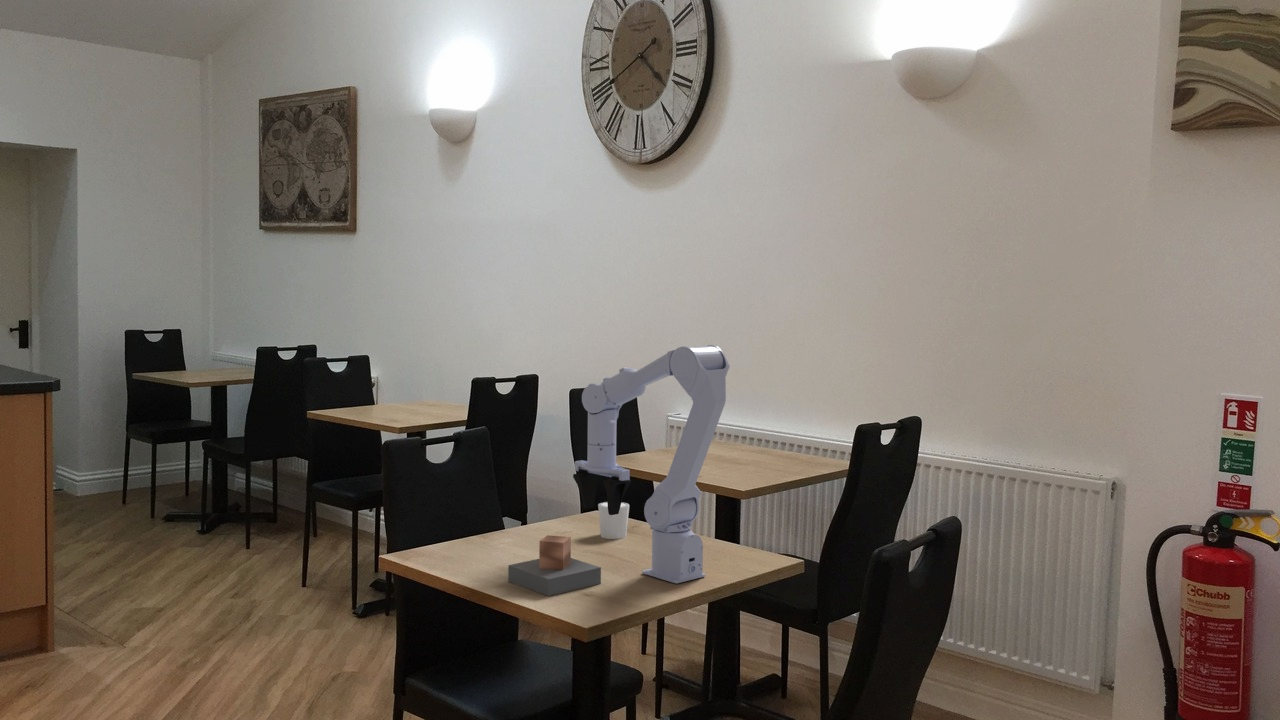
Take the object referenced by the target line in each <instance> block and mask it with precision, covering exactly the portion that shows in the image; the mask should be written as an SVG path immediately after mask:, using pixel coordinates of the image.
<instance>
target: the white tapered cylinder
mask: <svg viewBox="0 0 1280 720" xmlns="http://www.w3.org/2000/svg"><path fill="white" fill-rule="evenodd" d="M597 507H598V519H599V521H598V522H599V532H600V537H601V538H603V539H607V540H619V539H625V538H627V532H628V522H629V513H630V504H629V503H627V502H623V501H622V502H621V506H620V510H619V514H615V515H609V513H608V501H604V502H600V503H598V504H597Z"/></svg>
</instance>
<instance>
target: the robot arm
mask: <svg viewBox="0 0 1280 720" xmlns="http://www.w3.org/2000/svg"><path fill="white" fill-rule="evenodd" d="M729 370H730V363H729V361H728V359H727V357H726V355H725V353H724V351H723V349H721V348H720V347H719V346H717V345H714V344H708V345H705V346H704V345H703V346H679V347H677V348H675V349H672V350H669V351H667V352H666V353H665V354H663V355H661V356H660V357H659V358H657V359H655V360H653V361H652V362H649V364H647V365H645V366H643V367H642V368H640V369H637V368H634V367H630V368H629V367H628V366H627V367H622V368H619V370H618V371H619V373H617V374H615V375H613V376H609V377H607V376H606V377H605V378H603V381H602V382H601V383H589V384H588V385H587V386H585V388H584V389H583V391H582V393H581V403H582V406H583V408H584V410H585V411H587V457H586V458H587V459H586V460H582V459H581V460H576V461H574V471H576V472H577V473H573V475H572V478H573V480H574V482H575V483H576V485H577V487H578V490H579V493H580V494H579V495H580V497H581V501H582V506H583V509H592V508H593V509H594V507H595V503H596V491H597V484H598V481H599V479H600V476H603V477H609V479H608V478H607V479H603V480H602V483H603V486H604V489H605V492H606V493H605V494H606V497H607V501H606V502H608V513H609V515H615V514H619V510H620V506H621V502H623V498H624V495H625V494H626V492H627V490H628V488H629V487H630V485H631V482H632V481H631V479H630V478H631V477H630V473H631V471H630V469H628V468H624V467H622V466H620V463H617V421H618V419H619V412H620V409H621V408H622V407H623V405H624V404H625V403H628V402H631V401H632V400H635V399H637V398H638V397H640V396H642V395H643V394H644V393H645V391H646V388H647V386H648V385H651V384H653V383H655V382H658V381H660V380H663V379H665V378H667V377H669V376H671V377H674V378H675V380H676V381H677V382H678V383H679V384H680V386H681V387H682V389H683V390H684V391H685V393H686V394H687V395H688V396H689V397H690V398H691V400H692V405H691V408H690V410H689V414H688V417H687V419H686V422H685V425H684V427H683V431H682V432H681V437H680V439H679V442H678V445H677V447H676V451H675V454H674V457H673V458H672V462H671V465H670V468H669V469H668V470H669V471H668V472H667V473H668V474H667V476H666V477H665V478H664V479H663V480H662V481H661V482H660V483H659V484H658V485H657V486H656V487H655V488H654V491H653V493H652V495H651V496H650V497H649V498H648V499H646V502H645V503H644V508H643V509H644V510H643V512H644V513H643V514H644V518H645V520H646V522H647V524H648V525H649V526H650V527H649V529H650V530H651V534H652V535H651V536H652V537H651V540H652V541H651V568H647V569H644V570H643V569H642V570H641V574H644V575H648V576H650V577H653V578H657V579H660V580H663V581H667V582H669V583H673V584H680V583H683V582H688V581H692V580H696V579H700V578H704V577H706V573H704V572H703V569H704V568H703V563H704V562H703V561H704V559H703V558H704V557H703V554H704V545H703V540H702V538H701V536H700V535H698V534H697V533H694V532H693V531H692V529H691V528H692V527H693V521H695V520H696V519H697V517H698V515H699V511H700V497H701V494H702V491H701V490H700V489H699V487H698V486H697V485H696V484H697V481H698V478H699V476H700V473H701V471H702V468H703V465H704V463H705V459H706V457H707V454H708V452H709V448H710V446H711V444H712V440H713V438H714V435H715V432H716V430H717V426H718V424H719V421H720V418H721V416H722V413H723V410H724V407H725V405H726V401H727V399H726V398H727V396H726V395H727V394H726V392H727V387H726V386H727V385H726V384H727V383H726V378H727V374H728V371H729Z"/></svg>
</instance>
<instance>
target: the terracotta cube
mask: <svg viewBox="0 0 1280 720" xmlns="http://www.w3.org/2000/svg"><path fill="white" fill-rule="evenodd" d="M571 543H572V537H571V536H560V535H549V534H547V535H546V536H545V537H543V538H542V539H540V540H539V554H538V555H539V556H538V559H539V568H543V569H555V570H564V569H565V568H566V567H567V566H568V565H570V564H571V558H572V557H571V554H572V553H571V551H572V549H571V547H572V546H571Z"/></svg>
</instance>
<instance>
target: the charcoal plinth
mask: <svg viewBox="0 0 1280 720" xmlns="http://www.w3.org/2000/svg"><path fill="white" fill-rule="evenodd" d="M507 567H508V568H507V570H508V577H507V578H508V579H507V581H508V583H509V582H510V583H512V584H515V585H517V586H519V587H522V588H526V589H529V590H530V591H534V592H537V593H539V594H542V595H545V596H548V597H551V596H555V595H558V594H563V593H567V592H572V591H576V590H579V589H584V588H588V587H592V586H597V585H601V584H602V577H601V576H602V567H601V566H597V565H594V564H592V563H589V562H585V561H582V560H578V559H575V558H572V557H571V564H570V565H568V566H567V567H566V568H565V569H564V570H555V569H543V568H539V558H537V559H531V560H527V561H526V560H525V561H522V562H518V563H512V564H508V566H507Z"/></svg>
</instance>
